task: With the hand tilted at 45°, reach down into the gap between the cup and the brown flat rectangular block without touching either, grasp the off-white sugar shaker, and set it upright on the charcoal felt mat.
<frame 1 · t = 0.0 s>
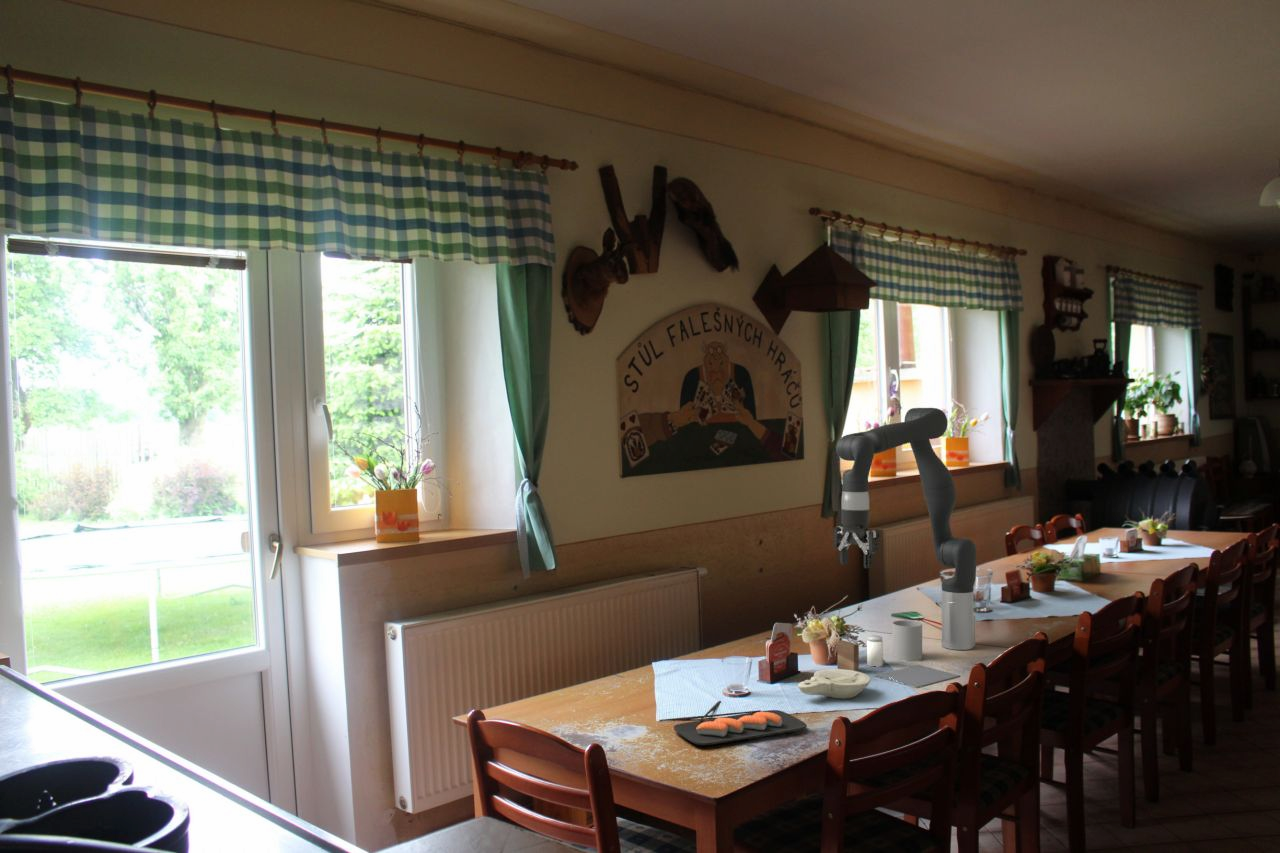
hand: (855, 565, 275), 29 cm above the table, tool pointing down, fingers open, 8 cm apart
oil lamp: (832, 697, 251), on the table
felt mat: (917, 676, 269), on the table
sugar shaker: (874, 665, 281), on the table
cup: (907, 658, 289), on the table
brown flat rectangular block: (848, 671, 275), on the table
sushi plate: (724, 724, 232), on the table
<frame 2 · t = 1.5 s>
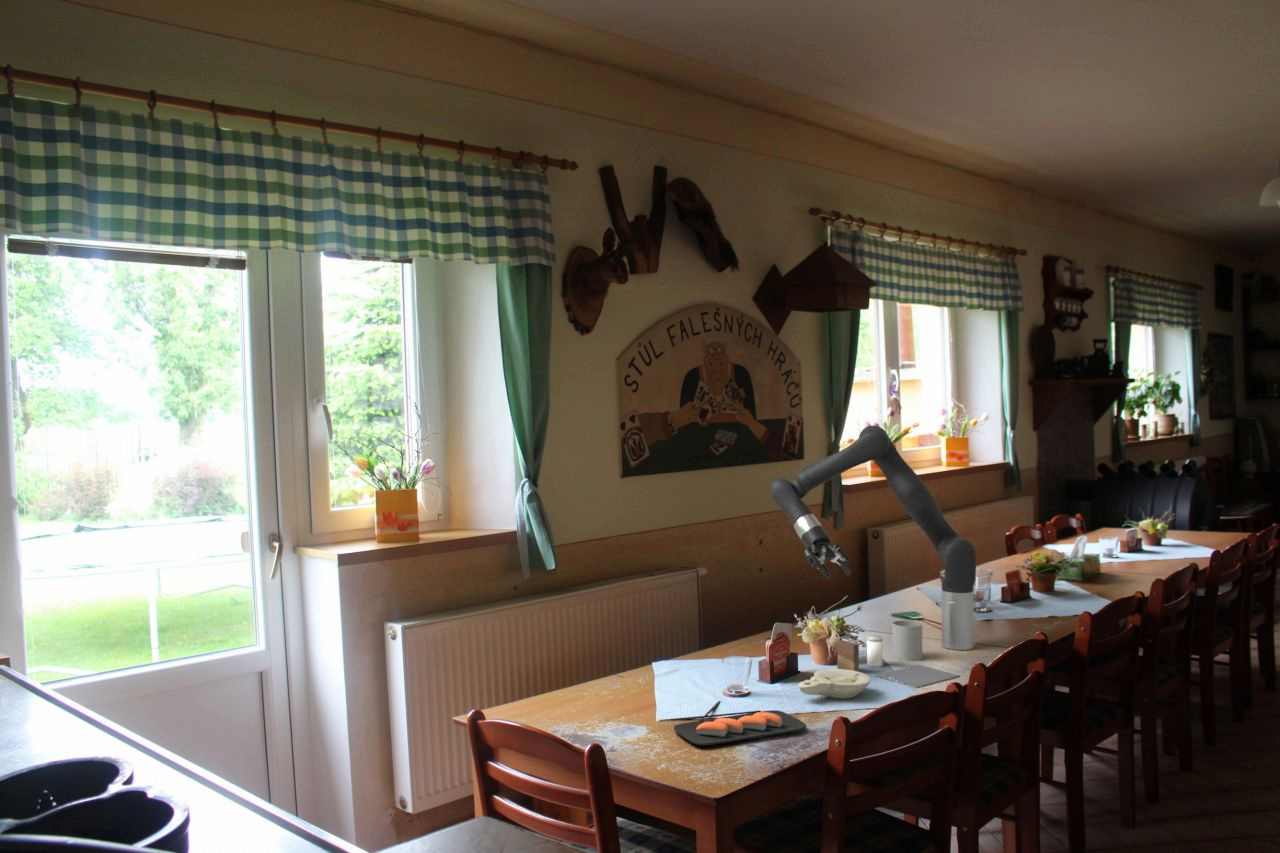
hand: (839, 575, 292), 24 cm above the table, tool tilted 45°, fingers open, 8 cm apart
nothing on the table moved.
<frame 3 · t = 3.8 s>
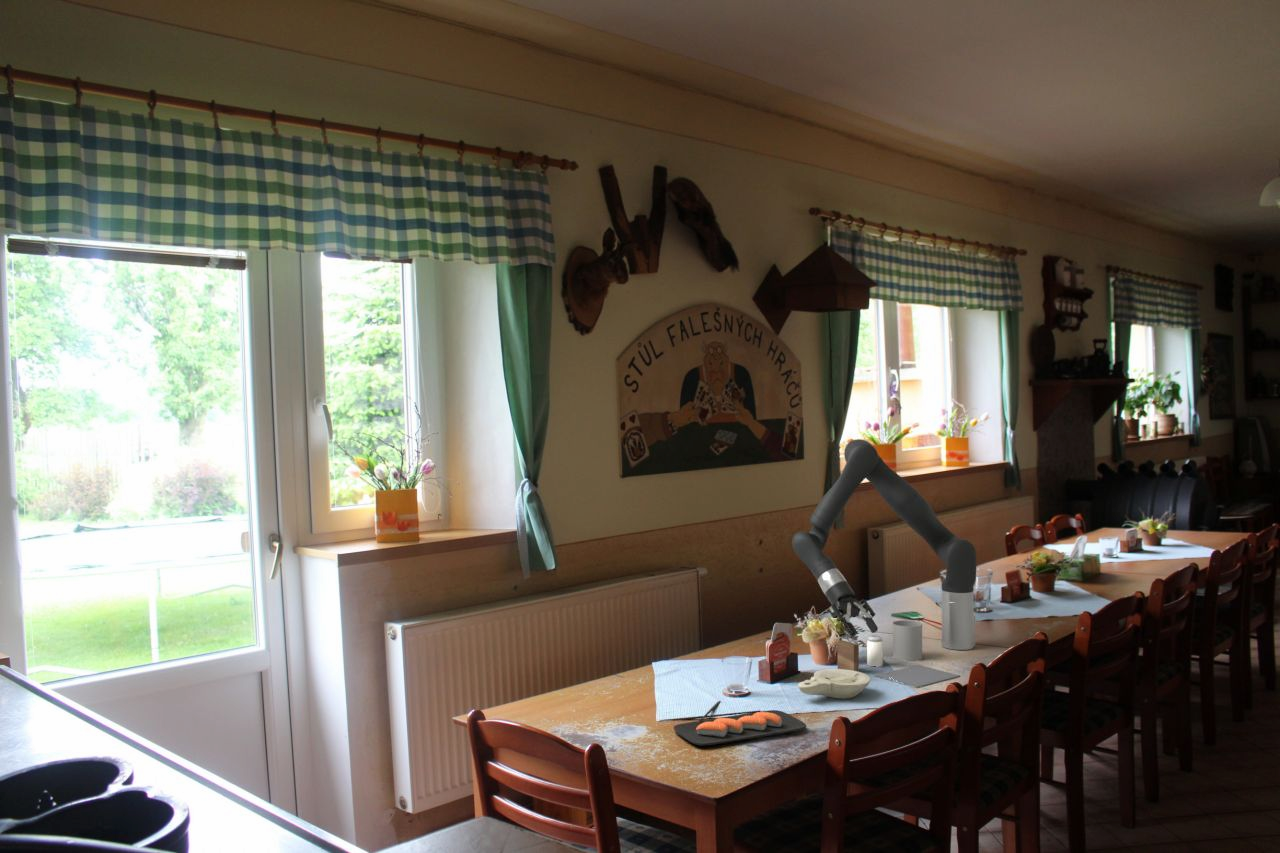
hand: (865, 633, 284), 8 cm above the table, tool tilted 45°, fingers open, 8 cm apart
nothing on the table moved.
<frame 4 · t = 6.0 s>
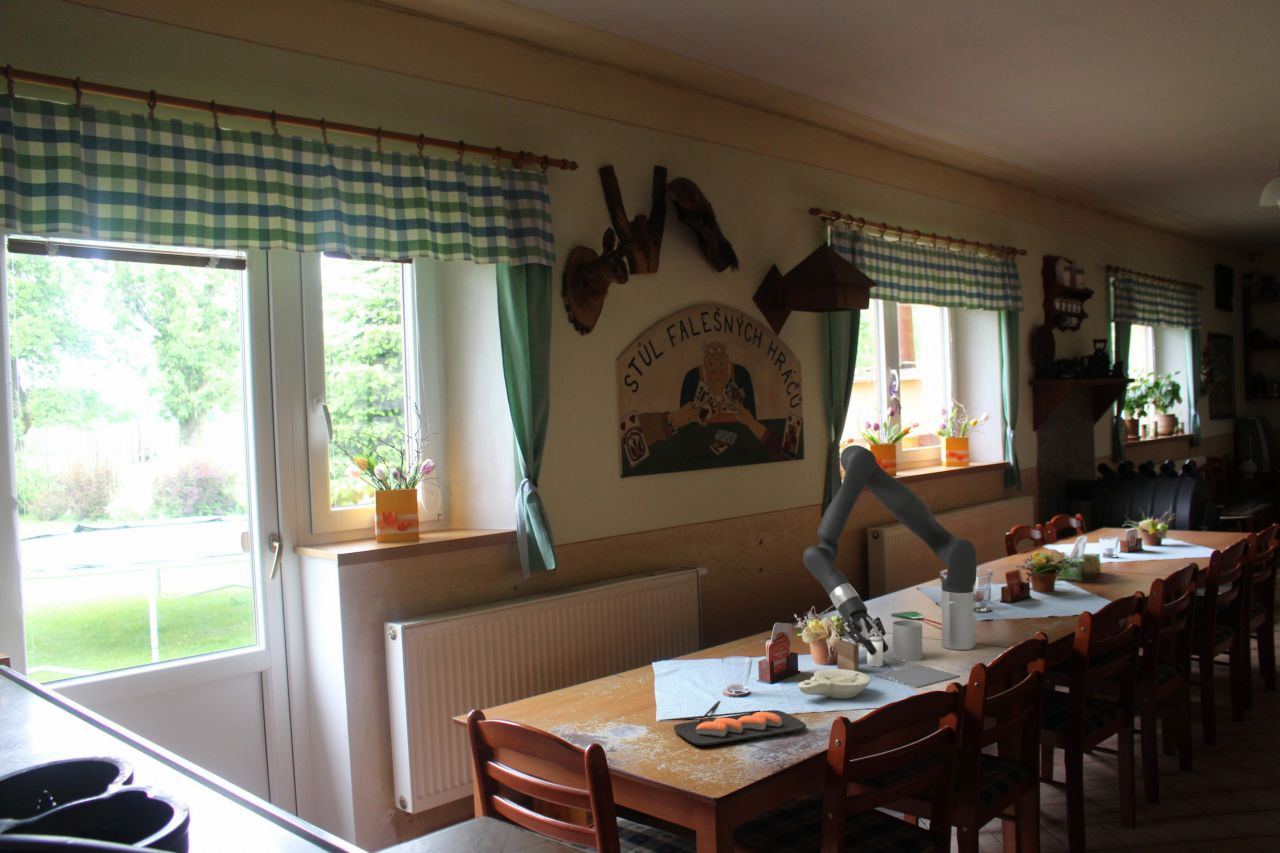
hand: (880, 651, 280), 4 cm above the table, tool tilted 45°, fingers closed on sugar shaker, 4 cm apart
sugar shaker: (875, 665, 281), on the table, touching gripper
everything else where it was.
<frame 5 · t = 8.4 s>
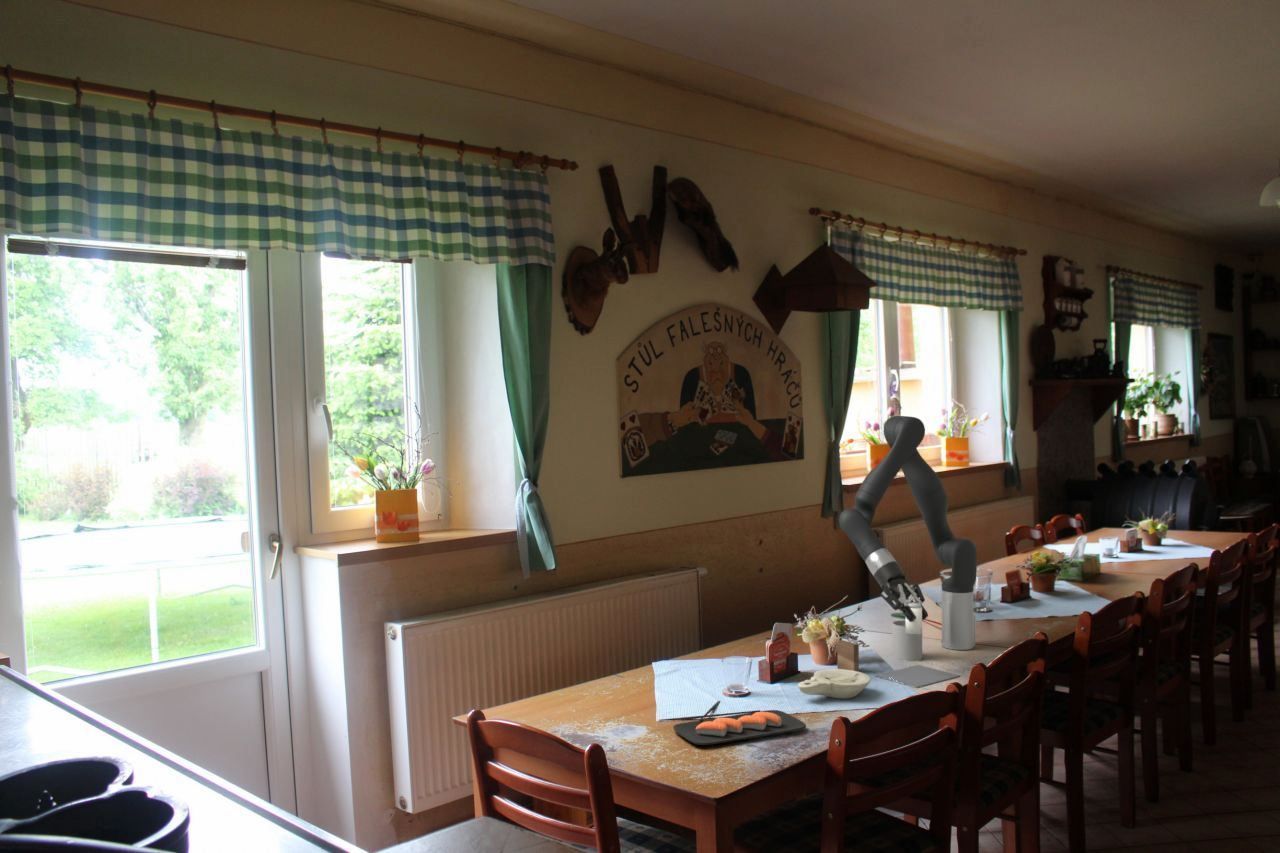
hand: (919, 618, 268), 16 cm above the table, tool tilted 45°, fingers closed on sugar shaker, 4 cm apart
sugar shaker: (913, 632, 270), point 12 cm above the table, touching gripper
everything else where it was.
when the fingers open (6 cm above the table, at t = 10.8 s): sugar shaker drops 1 cm, resting on felt mat.
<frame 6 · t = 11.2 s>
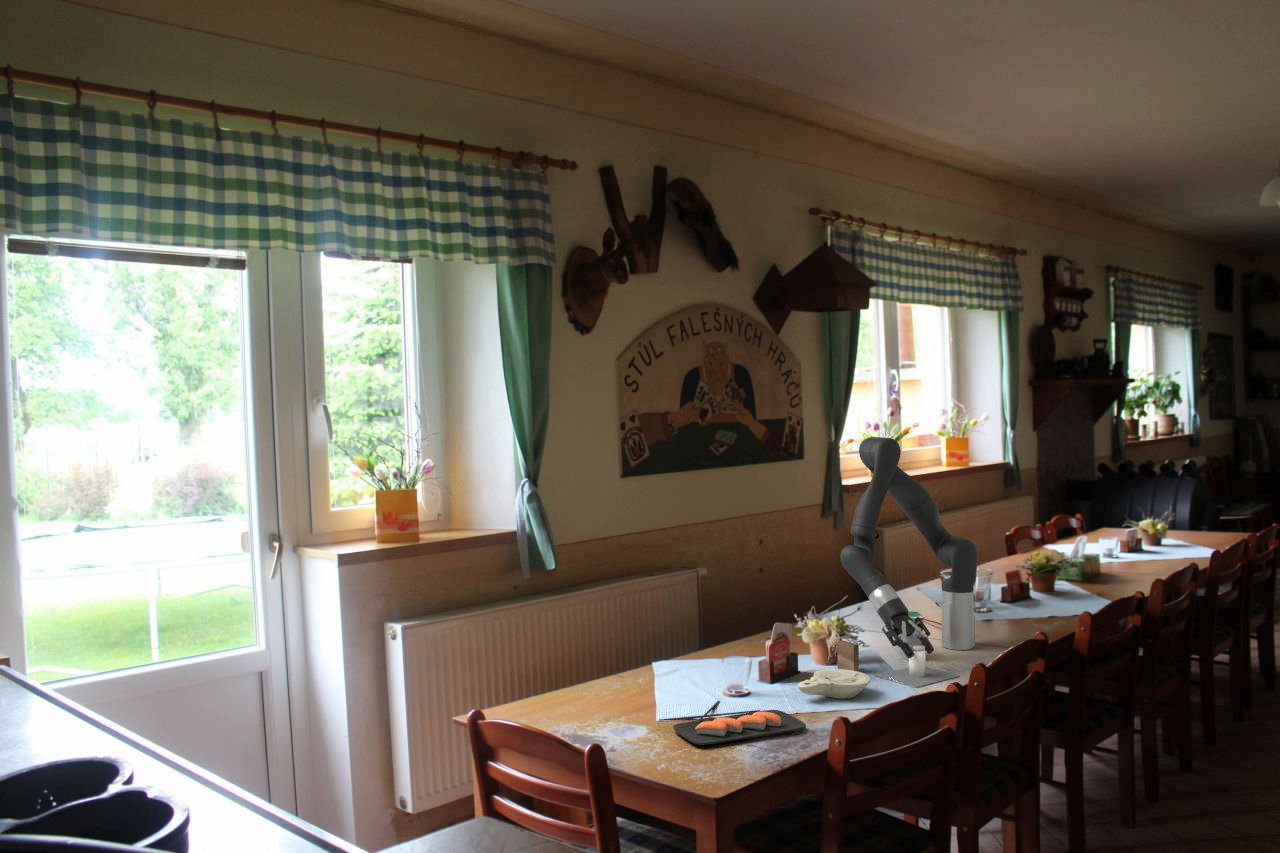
hand: (921, 654, 268), 6 cm above the table, tool tilted 45°, fingers open, 7 cm apart
sugar shaker: (917, 675, 269), resting on felt mat
everything else where it was.
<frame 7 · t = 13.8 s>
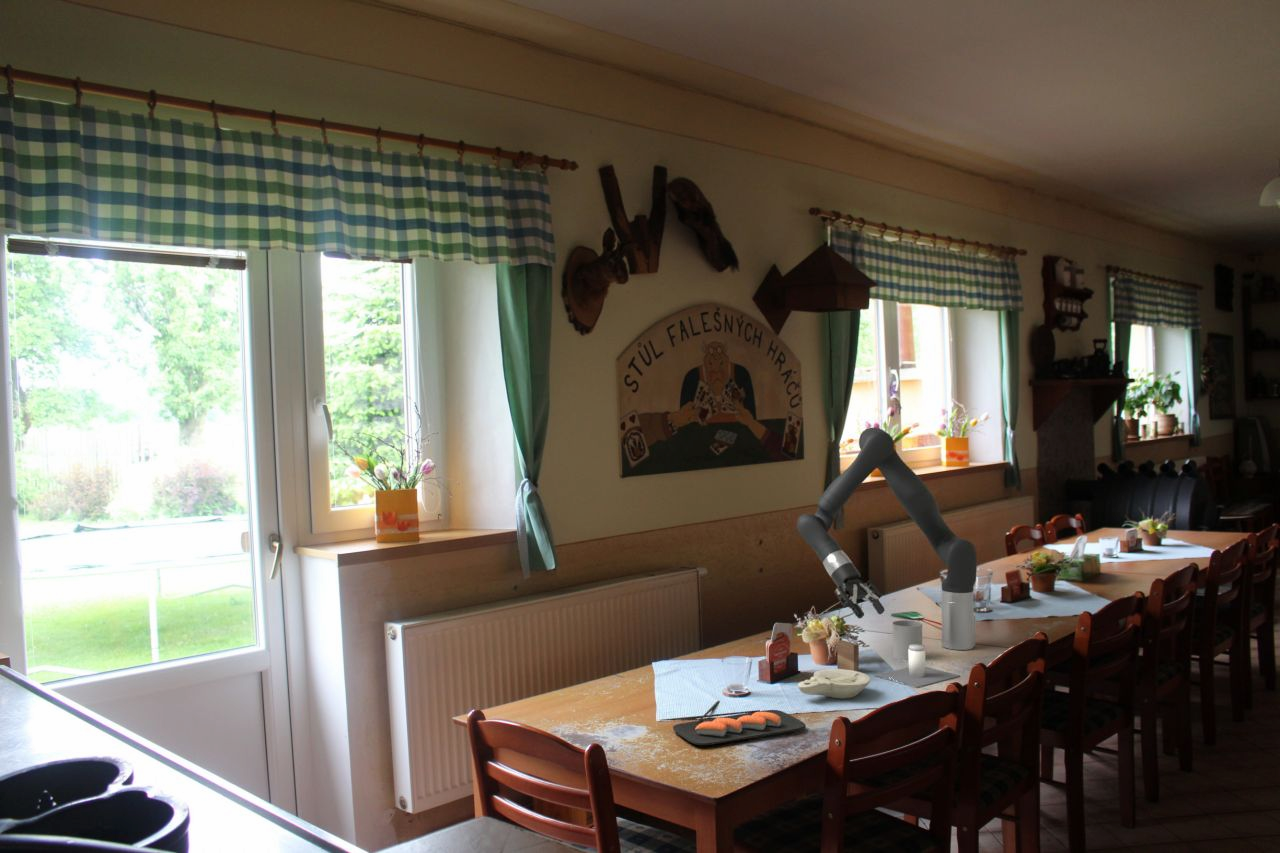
hand: (872, 614, 282), 14 cm above the table, tool tilted 45°, fingers open, 8 cm apart
nothing on the table moved.
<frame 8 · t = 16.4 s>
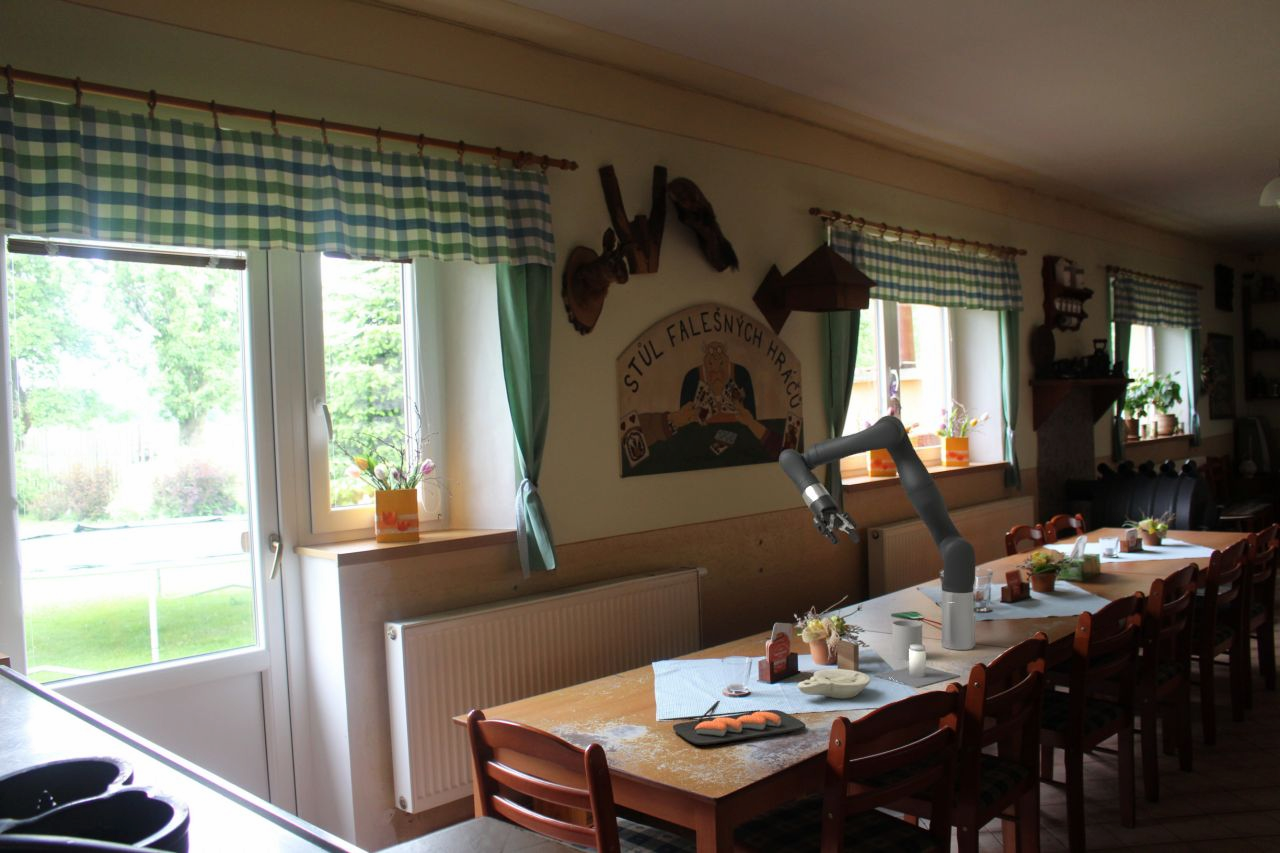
hand: (847, 542, 297), 33 cm above the table, tool tilted 45°, fingers open, 8 cm apart
nothing on the table moved.
at the end: sugar shaker inside the target area (0.1 cm from its centre), resting on felt mat; sugar shaker tilted 1°; brown flat rectangular block moved 0.1 cm from its start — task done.
